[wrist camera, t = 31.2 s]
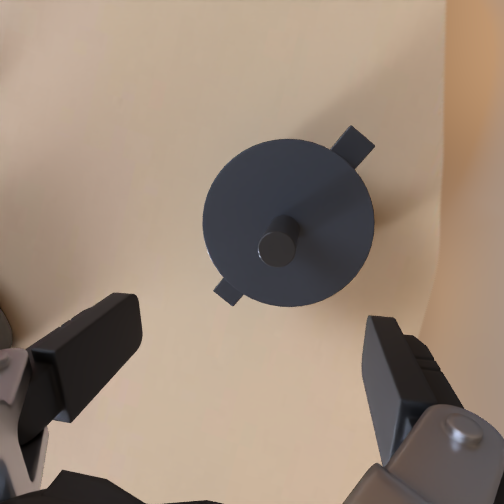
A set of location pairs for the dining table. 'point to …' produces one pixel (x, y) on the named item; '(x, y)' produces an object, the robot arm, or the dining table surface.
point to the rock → (5, 332)
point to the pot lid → (288, 222)
